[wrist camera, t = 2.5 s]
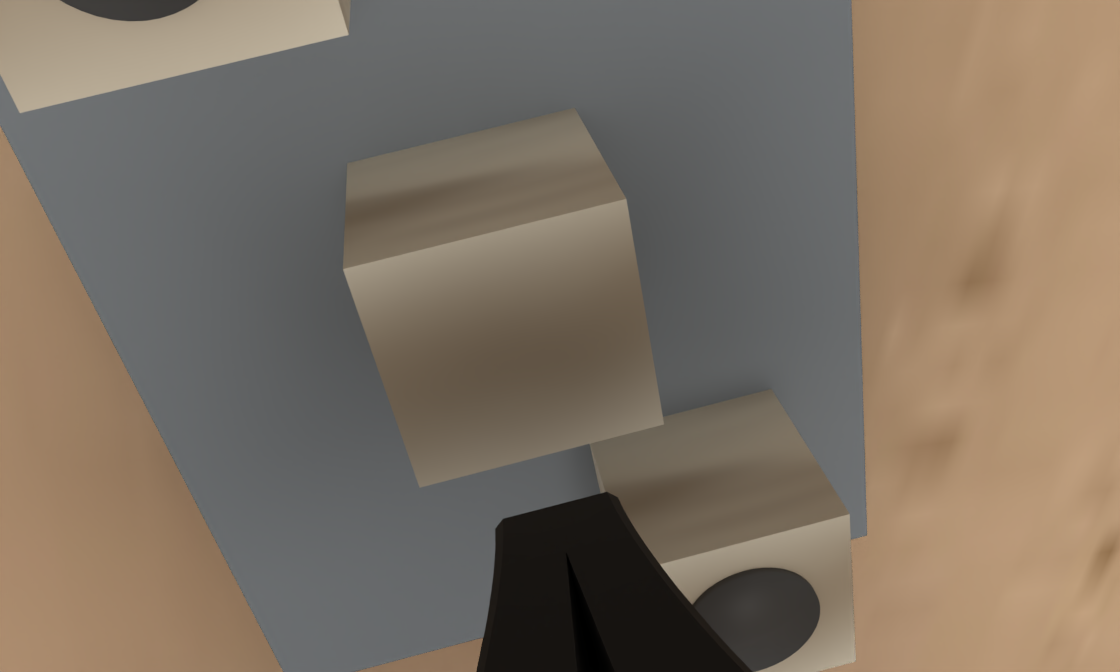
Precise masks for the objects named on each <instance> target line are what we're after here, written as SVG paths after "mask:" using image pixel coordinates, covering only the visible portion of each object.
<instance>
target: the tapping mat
mask: <svg viewBox="0 0 1120 672" xmlns="http://www.w3.org/2000/svg"><path fill="white" fill-rule="evenodd" d="M572 108H575V109H576V111H577V113H578V115H579V116H580V118H581V120H582V122H583V123H584V125H585V127H586V129H587V131H588V132H589V134H590V136H591V138H592V139H593V141H594V143H595V145H596V146H597V148H598V150H599V152H600V153H601V155H602V157H603V159H604V160H605V162H606V164H607V166H608V167H609V169H610V171H611V173H612V175H613V176H614V178H615V180H616V182H617V183H618V185H619V187H620V189H621V190H622V192H623V194H624V196H625V197H626V200H627V206H628V212H629V218H630V224H631V230H632V236H633V242H634V248H635V254H636V260H637V266H638V272H639V277H640V283H641V289H642V295H643V301H644V307H645V313H646V319H647V325H648V331H649V337H650V343H651V349H652V355H653V361H654V367H655V373H656V379H657V385H658V391H659V397H660V403H661V409H662V415H663V417H665V416H669V415H673V414H677V413H680V412H684V411H688V410H692V409H696V408H700V407H704V406H707V405H711V404H715V403H719V402H723V401H727V400H731V399H735V398H738V397H742V396H746V395H750V394H754V393H758V392H762V391H766V390H769V389H772V391H773V392H774V394H775V396H776V397H777V399H778V400H779V402H780V404H781V405H782V407H783V408H784V410H785V412H786V413H787V415H788V416H789V418H790V420H791V421H792V423H793V424H794V426H795V427H796V429H797V431H798V432H799V434H800V435H801V437H802V439H803V440H804V442H805V443H806V445H807V447H808V448H809V450H810V451H811V453H812V455H813V456H814V458H815V459H816V461H817V463H818V464H819V466H820V467H821V469H822V471H823V472H824V474H825V475H826V477H827V479H828V480H829V482H830V483H831V485H832V487H833V488H834V490H835V491H836V493H837V495H838V496H839V498H840V499H841V501H842V503H843V504H844V506H845V507H846V509H847V511H848V512H849V514H850V534H851V539H855V538H859V537H862V536H866V535H867V517H866V483H865V449H864V415H863V381H862V347H861V314H860V280H859V246H858V212H857V178H856V144H855V110H854V76H853V42H852V8H851V0H351V3H350V21H349V35H346V36H342V37H338V38H333V39H329V40H325V41H321V42H317V43H312V44H308V45H304V46H300V47H296V48H291V49H287V50H283V51H279V52H275V53H270V54H266V55H262V56H258V57H254V58H249V59H245V60H241V61H237V62H233V63H228V64H224V65H220V66H216V67H212V68H207V69H203V70H199V71H195V72H191V73H186V74H182V75H178V76H174V77H170V78H165V79H161V80H157V81H153V82H149V83H144V84H140V85H136V86H132V87H128V88H123V89H119V90H115V91H111V92H107V93H102V94H98V95H94V96H90V97H86V98H81V99H77V100H73V101H69V102H65V103H60V104H56V105H52V106H48V107H44V108H39V109H35V110H31V111H27V112H23V113H20V112H19V111H18V109H17V107H16V105H15V103H14V101H13V99H12V97H11V95H10V93H9V91H8V89H7V87H6V85H5V83H4V81H3V79H2V77H1V75H0V126H1V128H2V130H3V132H4V133H5V135H6V137H7V139H8V141H9V143H10V145H11V147H12V149H13V151H14V153H15V155H16V157H17V159H18V161H19V162H20V164H21V166H22V168H23V170H24V172H25V174H26V176H27V178H28V180H29V182H30V184H31V186H32V188H33V189H34V191H35V193H36V195H37V197H38V199H39V201H40V203H41V205H42V207H43V209H44V211H45V213H46V215H47V216H48V218H49V220H50V222H51V224H52V226H53V228H54V230H55V232H56V234H57V236H58V238H59V240H60V242H61V244H62V245H63V247H64V249H65V251H66V253H67V255H68V257H69V259H70V261H71V263H72V265H73V267H74V269H75V271H76V272H77V274H78V276H79V278H80V280H81V282H82V284H83V286H84V288H85V290H86V292H87V294H88V296H89V298H90V299H91V301H92V303H93V305H94V307H95V309H96V311H97V313H98V315H99V317H100V319H101V321H102V323H103V325H104V327H105V328H106V330H107V332H108V334H109V336H110V338H111V340H112V342H113V344H114V346H115V348H116V350H117V352H118V354H119V355H120V357H121V359H122V361H123V363H124V365H125V367H126V369H127V371H128V373H129V375H130V377H131V379H132V381H133V382H134V384H135V386H136V388H137V390H138V392H139V394H140V396H141V398H142V400H143V402H144V404H145V406H146V408H147V409H148V411H149V413H150V415H151V417H152V419H153V421H154V423H155V425H156V427H157V429H158V431H159V433H160V435H161V437H162V438H163V440H164V442H165V444H166V446H167V448H168V450H169V452H170V454H171V456H172V458H173V460H174V462H175V464H176V465H177V467H178V469H179V471H180V473H181V475H182V477H183V479H184V481H185V483H186V485H187V487H188V489H189V491H190V492H191V494H192V496H193V498H194V500H195V502H196V504H197V506H198V508H199V510H200V512H201V514H202V516H203V518H204V520H205V521H206V523H207V525H208V527H209V529H210V531H211V533H212V535H213V537H214V539H215V541H216V543H217V545H218V547H219V548H220V550H221V552H222V554H223V556H224V558H225V560H226V562H227V564H228V566H229V568H230V570H231V572H232V574H233V575H234V577H235V579H236V581H237V583H238V585H239V587H240V589H241V591H242V593H243V595H244V597H245V599H246V601H247V603H248V604H249V606H250V608H251V610H252V612H253V614H254V616H255V618H256V620H257V622H258V624H259V626H260V628H261V630H262V631H263V633H264V635H265V637H266V639H267V641H268V643H269V645H270V647H271V649H272V651H273V653H274V655H275V657H276V658H277V660H278V662H279V664H280V666H281V668H282V670H283V672H355V671H359V670H363V669H366V668H370V667H374V666H378V665H381V664H385V663H389V662H393V661H396V660H400V659H404V658H408V657H411V656H415V655H419V654H423V653H426V652H430V651H434V650H438V649H441V648H445V647H449V646H453V645H457V644H460V643H464V642H468V641H472V640H475V639H479V638H483V637H484V632H485V627H486V622H487V616H488V610H489V603H490V596H491V590H492V582H493V573H494V561H495V528H496V527H497V526H498V524H499V523H500V522H501V520H502V519H504V518H508V517H512V516H516V515H519V514H523V513H527V512H531V511H535V510H539V509H542V508H546V507H550V506H554V505H558V504H562V503H566V502H569V501H573V500H577V499H581V498H585V497H589V496H592V495H596V494H600V489H599V484H598V480H597V475H596V471H595V466H594V462H593V457H592V452H591V448H590V444H587V445H583V446H579V447H575V448H571V449H567V450H563V451H559V452H556V453H552V454H548V455H544V456H540V457H536V458H532V459H529V460H525V461H521V462H517V463H513V464H509V465H505V466H501V467H498V468H494V469H490V470H486V471H482V472H478V473H474V474H471V475H467V476H463V477H459V478H455V479H451V480H447V481H444V482H440V483H436V484H432V485H428V486H424V487H419V485H418V482H417V479H416V476H415V473H414V470H413V467H412V465H411V462H410V459H409V456H408V453H407V450H406V448H405V445H404V442H403V439H402V436H401V433H400V430H399V428H398V425H397V422H396V419H395V416H394V413H393V411H392V408H391V405H390V402H389V399H388V396H387V393H386V391H385V388H384V385H383V382H382V379H381V376H380V373H379V371H378V368H377V365H376V362H375V359H374V356H373V354H372V351H371V348H370V345H369V342H368V339H367V336H366V334H365V331H364V328H363V325H362V322H361V319H360V317H359V314H358V311H357V308H356V305H355V302H354V299H353V297H352V294H351V291H350V288H349V285H348V282H347V279H346V277H345V274H344V271H343V255H344V231H345V207H346V182H347V163H350V162H354V161H359V160H363V159H367V158H371V157H375V156H379V155H383V154H387V153H391V152H396V151H400V150H404V149H408V148H412V147H416V146H420V145H424V144H428V143H432V142H437V141H441V140H445V139H449V138H453V137H457V136H461V135H465V134H469V133H473V132H478V131H482V130H486V129H490V128H494V127H498V126H502V125H506V124H510V123H515V122H519V121H523V120H527V119H531V118H535V117H539V116H543V115H547V114H551V113H556V112H560V111H564V110H568V109H572Z"/></svg>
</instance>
